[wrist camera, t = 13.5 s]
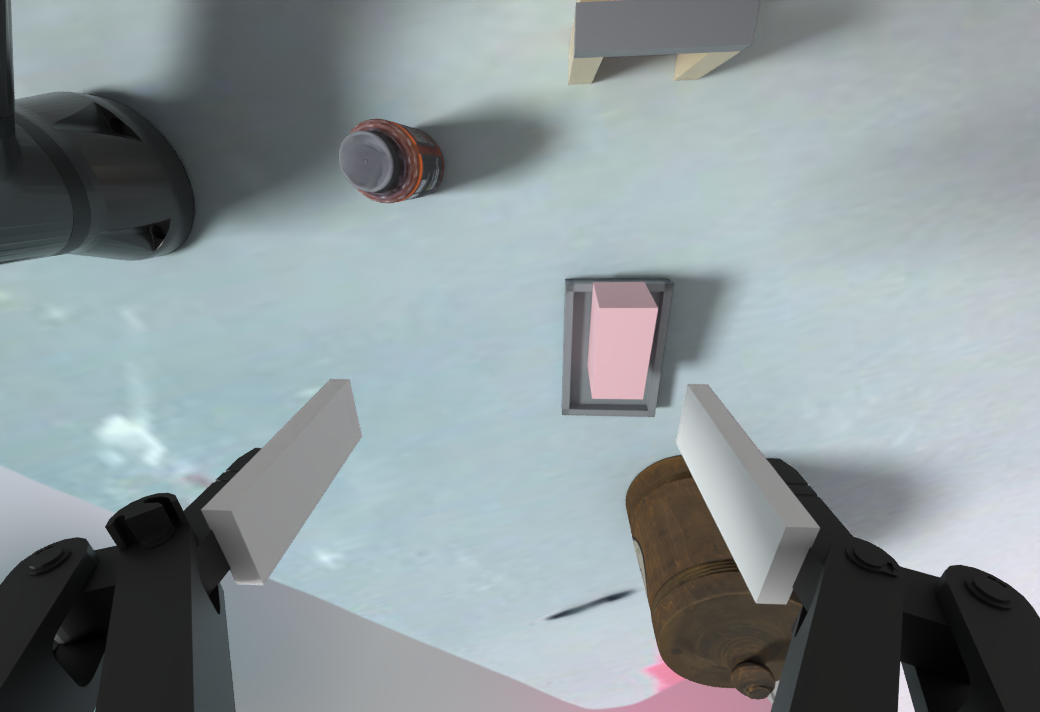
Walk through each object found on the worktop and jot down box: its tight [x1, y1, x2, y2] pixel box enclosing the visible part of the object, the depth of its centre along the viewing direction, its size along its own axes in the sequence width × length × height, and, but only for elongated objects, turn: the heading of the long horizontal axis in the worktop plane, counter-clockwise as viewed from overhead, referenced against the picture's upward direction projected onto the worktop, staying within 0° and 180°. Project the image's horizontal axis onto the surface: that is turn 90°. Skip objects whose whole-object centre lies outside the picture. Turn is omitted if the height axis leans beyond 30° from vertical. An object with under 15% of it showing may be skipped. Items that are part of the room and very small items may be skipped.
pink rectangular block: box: [587, 282, 658, 399], centre depth 39 cm, size 5×10×6 cm, turn 1°
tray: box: [562, 279, 674, 417], centre depth 44 cm, size 11×16×2 cm
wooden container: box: [626, 456, 803, 699], centre depth 43 cm, size 15×15×22 cm
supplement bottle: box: [339, 119, 444, 203], centre depth 33 cm, size 6×6×11 cm
